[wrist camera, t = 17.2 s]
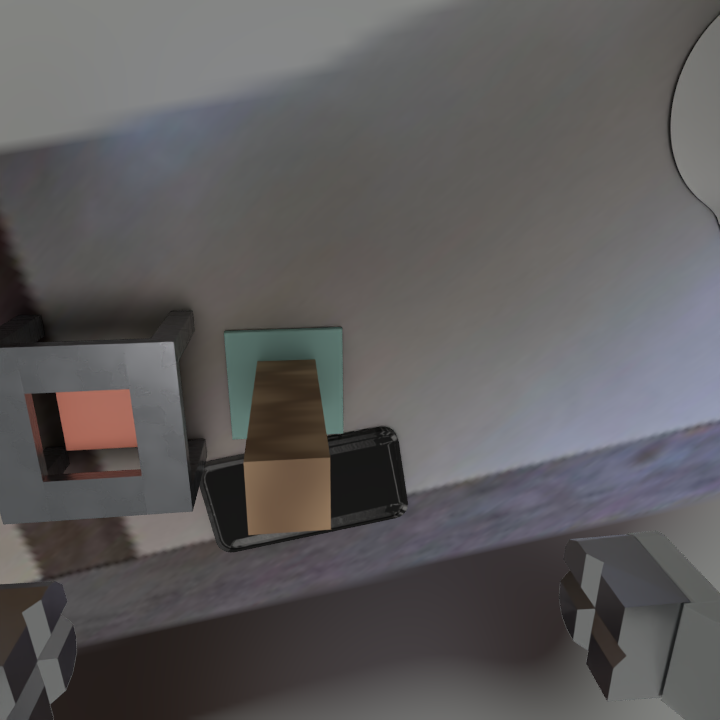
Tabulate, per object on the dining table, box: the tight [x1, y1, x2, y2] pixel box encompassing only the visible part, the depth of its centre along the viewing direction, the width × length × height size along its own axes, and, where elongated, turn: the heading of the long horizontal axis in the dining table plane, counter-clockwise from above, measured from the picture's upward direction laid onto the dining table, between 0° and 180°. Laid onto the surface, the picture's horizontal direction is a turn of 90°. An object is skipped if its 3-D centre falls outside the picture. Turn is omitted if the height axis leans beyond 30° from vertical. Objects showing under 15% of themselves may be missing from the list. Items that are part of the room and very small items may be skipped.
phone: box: [199, 427, 408, 552], centre depth 44 cm, size 8×1×15 cm
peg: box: [244, 359, 331, 535], centre depth 34 cm, size 4×4×14 cm
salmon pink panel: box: [56, 389, 138, 451], centre depth 37 cm, size 5×5×2 cm
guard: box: [0, 310, 207, 524], centre depth 36 cm, size 11×11×7 cm
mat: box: [224, 327, 343, 439], centre depth 40 cm, size 8×8×1 cm
